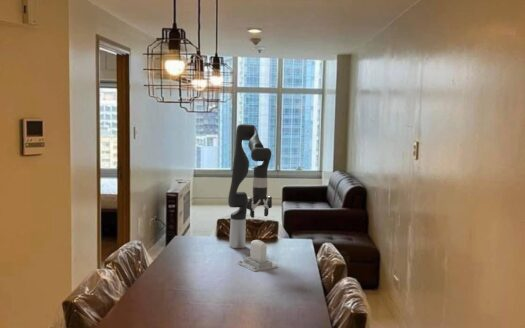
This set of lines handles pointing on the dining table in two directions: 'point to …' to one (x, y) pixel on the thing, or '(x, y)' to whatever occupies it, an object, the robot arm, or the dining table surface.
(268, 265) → the plate
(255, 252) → the photo printer
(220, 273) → the dining table surface
